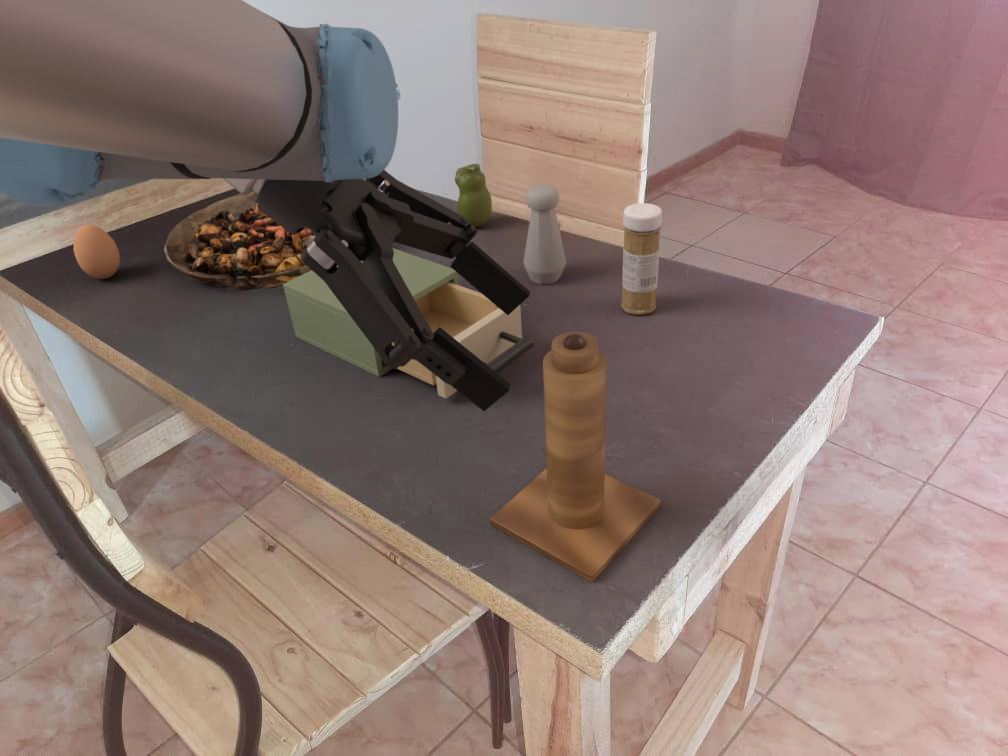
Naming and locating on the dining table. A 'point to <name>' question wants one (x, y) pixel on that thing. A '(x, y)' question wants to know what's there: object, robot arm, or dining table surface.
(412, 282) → the cabinet
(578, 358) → the pepper mill
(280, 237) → the food dish
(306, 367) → the dining table surface
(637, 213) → the spice jar
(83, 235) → the egg
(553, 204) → the salt shaker
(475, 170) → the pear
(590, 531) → the square wooden board
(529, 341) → the drawer
